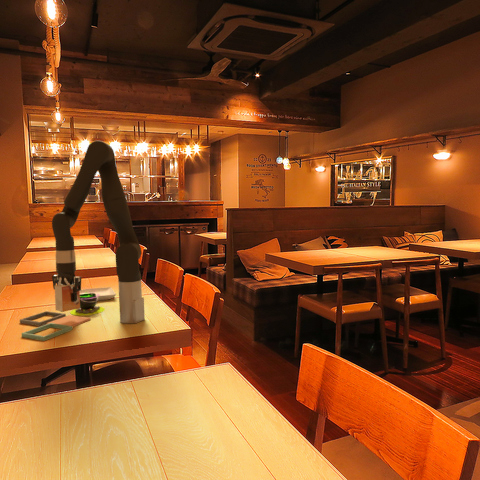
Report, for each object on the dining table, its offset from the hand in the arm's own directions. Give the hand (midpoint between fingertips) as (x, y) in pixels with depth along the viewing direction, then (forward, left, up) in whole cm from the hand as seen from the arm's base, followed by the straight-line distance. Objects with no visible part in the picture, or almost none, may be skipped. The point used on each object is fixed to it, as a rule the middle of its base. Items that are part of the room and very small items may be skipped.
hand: (67, 300), depth 167 cm
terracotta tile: (0, 0, -9) cm, 9 cm away
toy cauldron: (+5, -16, -10) cm, 20 cm away
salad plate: (+21, -37, -10) cm, 43 cm away
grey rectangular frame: (+13, +1, -9) cm, 16 cm away
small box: (0, 0, -4) cm, 4 cm away
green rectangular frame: (-3, +13, -9) cm, 17 cm away
